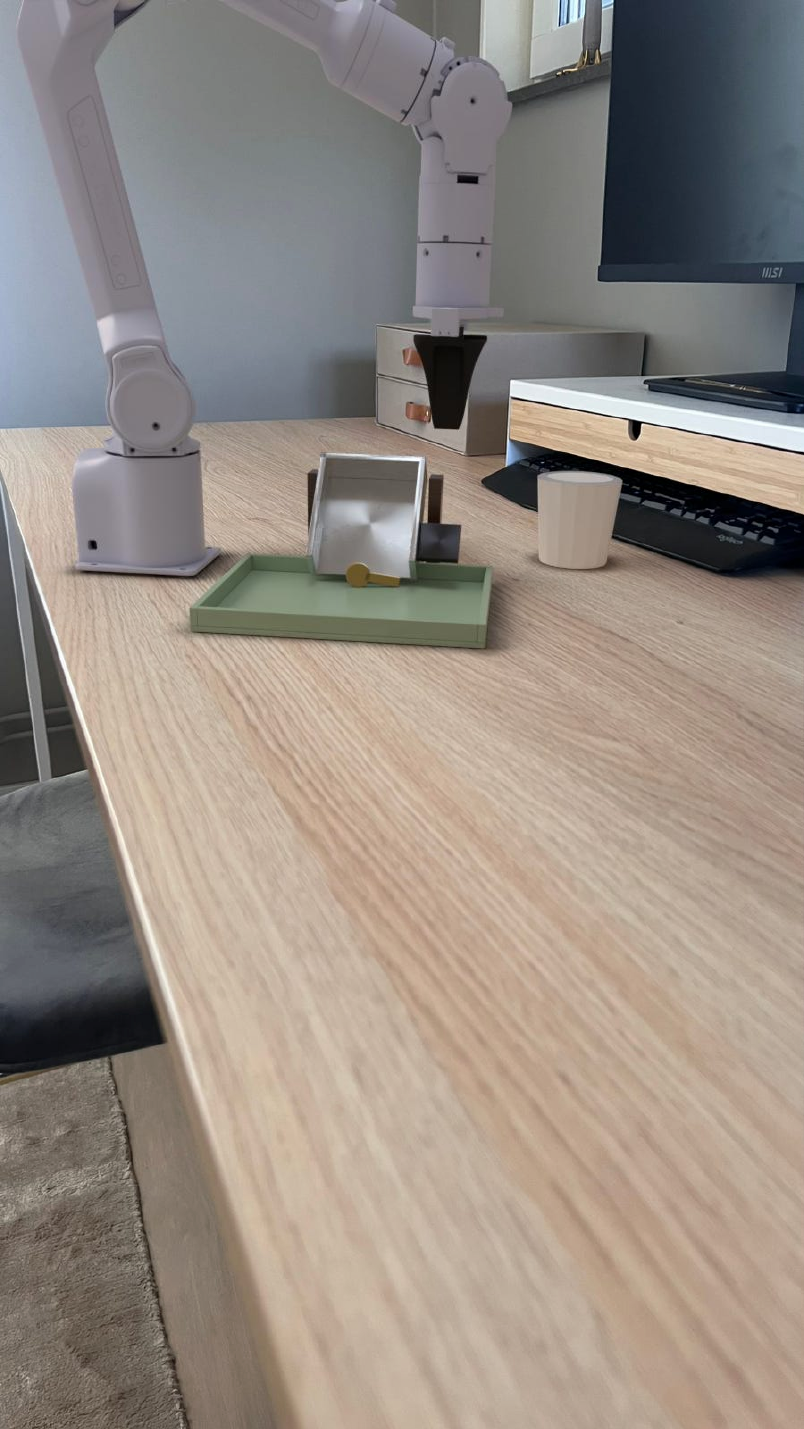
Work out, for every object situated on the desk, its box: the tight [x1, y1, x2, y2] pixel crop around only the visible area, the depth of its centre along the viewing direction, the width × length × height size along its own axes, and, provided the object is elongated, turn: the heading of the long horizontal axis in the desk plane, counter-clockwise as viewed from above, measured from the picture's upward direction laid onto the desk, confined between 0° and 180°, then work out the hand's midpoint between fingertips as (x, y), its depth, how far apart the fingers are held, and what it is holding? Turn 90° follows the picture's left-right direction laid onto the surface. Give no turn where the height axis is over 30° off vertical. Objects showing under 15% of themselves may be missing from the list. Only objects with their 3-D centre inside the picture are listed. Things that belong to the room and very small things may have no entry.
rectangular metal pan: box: [305, 451, 462, 581], centre depth 77 cm, size 11×9×3 cm
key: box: [346, 562, 400, 587], centre depth 76 cm, size 4×2×1 cm
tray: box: [188, 552, 494, 650], centre depth 72 cm, size 19×15×2 cm
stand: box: [307, 468, 445, 563], centre depth 81 cm, size 10×2×8 cm, turn 84°
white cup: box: [537, 470, 623, 570], centre depth 86 cm, size 7×7×7 cm
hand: (447, 428), depth 84 cm, fingers closed
